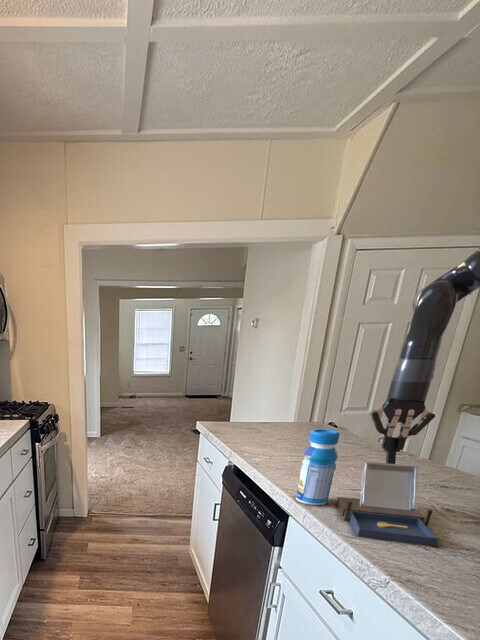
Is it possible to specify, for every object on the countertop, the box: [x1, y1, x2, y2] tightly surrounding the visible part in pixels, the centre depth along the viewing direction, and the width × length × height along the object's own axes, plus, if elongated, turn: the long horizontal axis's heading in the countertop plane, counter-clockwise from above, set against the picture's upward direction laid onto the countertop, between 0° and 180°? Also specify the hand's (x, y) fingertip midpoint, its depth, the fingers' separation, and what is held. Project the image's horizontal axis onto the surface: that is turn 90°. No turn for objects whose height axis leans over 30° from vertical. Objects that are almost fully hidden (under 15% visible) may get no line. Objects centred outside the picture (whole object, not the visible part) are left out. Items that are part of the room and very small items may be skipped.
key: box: [377, 522, 408, 529], centre depth 97 cm, size 6×3×1 cm, turn 69°
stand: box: [335, 496, 434, 528], centre depth 104 cm, size 17×13×5 cm
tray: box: [348, 511, 439, 547], centre depth 96 cm, size 15×12×2 cm
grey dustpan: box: [359, 437, 419, 511], centre depth 100 cm, size 11×18×2 cm
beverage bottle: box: [295, 428, 340, 506], centre depth 111 cm, size 8×8×20 cm
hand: (391, 450), depth 101 cm, fingers closed on grey dustpan
